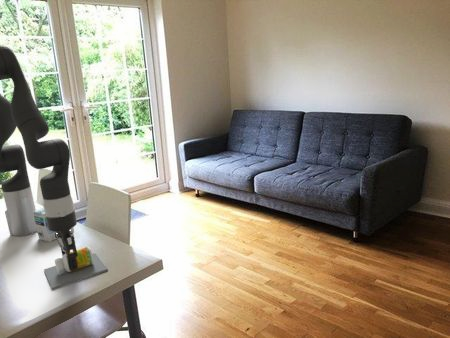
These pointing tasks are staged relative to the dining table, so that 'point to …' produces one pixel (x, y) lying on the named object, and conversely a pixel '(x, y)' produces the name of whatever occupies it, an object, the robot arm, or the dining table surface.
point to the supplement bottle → (82, 260)
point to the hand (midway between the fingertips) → (70, 263)
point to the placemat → (74, 273)
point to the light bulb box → (44, 226)
